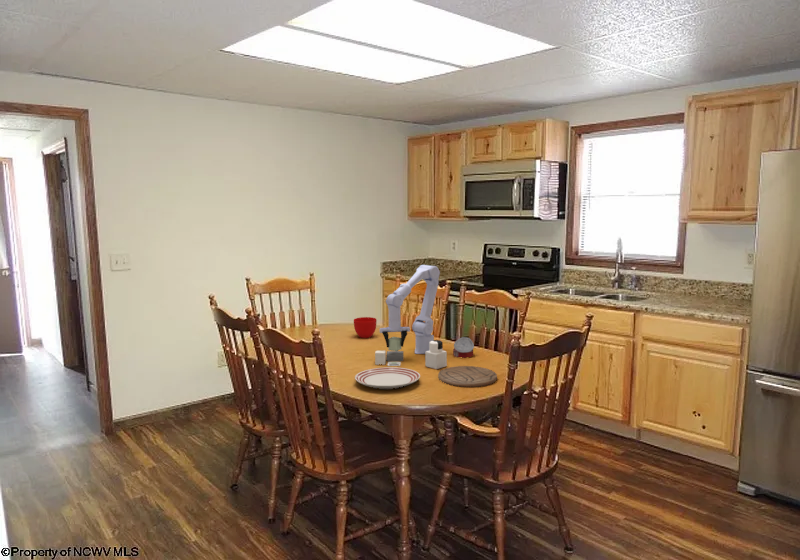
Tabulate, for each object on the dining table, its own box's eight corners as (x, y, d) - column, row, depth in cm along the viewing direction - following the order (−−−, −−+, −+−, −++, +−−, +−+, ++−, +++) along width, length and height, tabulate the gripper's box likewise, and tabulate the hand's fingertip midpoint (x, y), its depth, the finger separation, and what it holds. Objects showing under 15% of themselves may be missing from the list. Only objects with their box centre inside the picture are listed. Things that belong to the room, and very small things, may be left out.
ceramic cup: (381, 333, 322) (380, 316, 321) (373, 339, 306) (372, 322, 304) (359, 332, 325) (359, 315, 324) (350, 338, 309) (350, 321, 307)
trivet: (474, 367, 254) (474, 363, 254) (509, 382, 232) (509, 377, 232) (427, 375, 243) (427, 371, 242) (458, 391, 221) (458, 387, 220)
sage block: (401, 348, 268) (401, 337, 268) (396, 351, 264) (396, 339, 264) (393, 347, 271) (393, 336, 270) (388, 350, 267) (388, 338, 266)
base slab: (403, 357, 272) (403, 351, 272) (403, 361, 264) (403, 355, 264) (387, 357, 272) (387, 351, 272) (386, 361, 264) (386, 355, 264)
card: (400, 362, 262) (400, 361, 262) (400, 365, 256) (400, 365, 256) (388, 362, 262) (388, 361, 262) (387, 365, 256) (387, 365, 256)
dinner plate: (347, 377, 240) (346, 370, 240) (405, 370, 250) (405, 362, 250) (367, 397, 215) (366, 389, 214) (430, 388, 225) (430, 380, 225)
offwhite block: (385, 362, 263) (385, 350, 262) (385, 364, 258) (384, 353, 257) (376, 362, 263) (375, 350, 262) (375, 364, 258) (375, 353, 258)
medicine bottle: (435, 363, 260) (435, 338, 258) (447, 366, 255) (447, 340, 253) (425, 366, 255) (424, 341, 253) (436, 369, 250) (436, 343, 248)
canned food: (473, 363, 275) (482, 347, 271) (460, 365, 268) (469, 349, 264) (458, 349, 281) (466, 333, 278) (445, 351, 274) (453, 335, 270)
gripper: (407, 316, 271) (408, 343, 272) (378, 318, 268) (378, 345, 270) (410, 319, 264) (410, 347, 266) (380, 320, 261) (380, 348, 263)
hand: (394, 346), depth 267 cm, fingers closed on sage block, 6 cm apart
